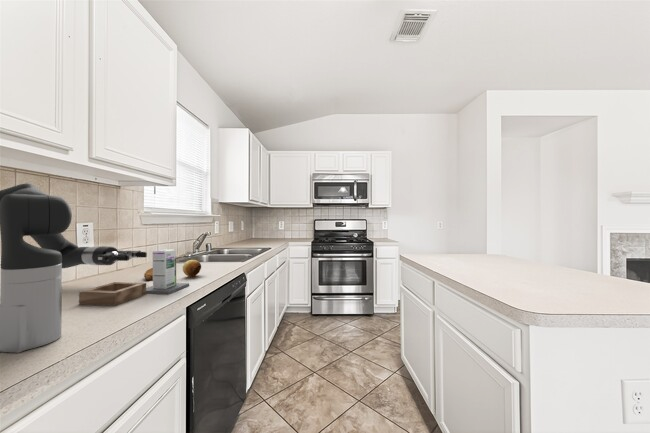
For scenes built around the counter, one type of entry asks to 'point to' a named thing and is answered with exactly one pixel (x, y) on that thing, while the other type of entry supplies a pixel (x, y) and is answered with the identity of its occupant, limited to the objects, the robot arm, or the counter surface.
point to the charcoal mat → (166, 291)
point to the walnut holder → (112, 293)
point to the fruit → (192, 268)
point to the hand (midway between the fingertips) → (137, 256)
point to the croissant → (149, 274)
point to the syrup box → (164, 268)
